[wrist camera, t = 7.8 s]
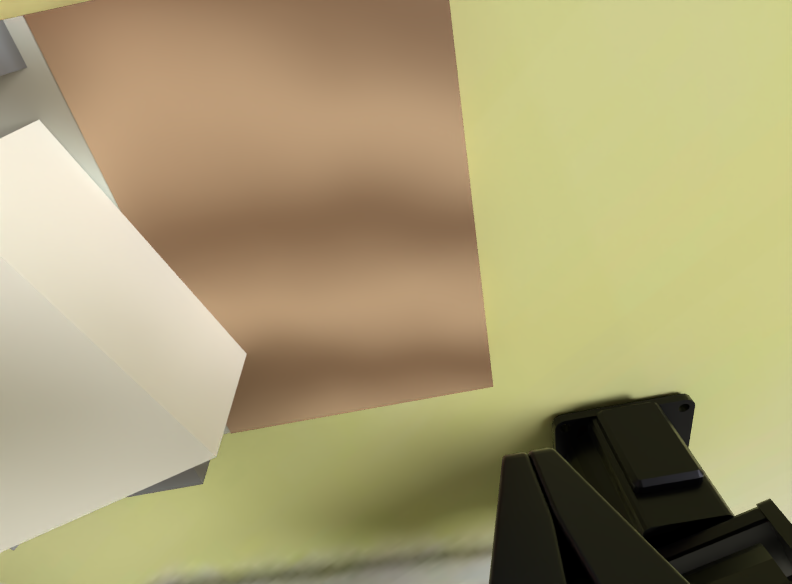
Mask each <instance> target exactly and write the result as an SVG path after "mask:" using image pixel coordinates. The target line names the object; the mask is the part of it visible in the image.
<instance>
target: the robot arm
mask: <svg viewBox="0 0 792 584" xmlns="http://www.w3.org/2000/svg"><path fill="white" fill-rule="evenodd" d="M694 409H695V403H694V402H693V400H692V399H691V398H690V396H689V395H687V394H678V395H672V396H666V397H661V398H655V399H649V400H643V401H638V402H632V403H626V404H621V405H615V406H609V407H603V408H598V409H592V410H586V411H581V412H575V413H569V414H563V415H560V416H558V417H556V418H555V419H554V420H553V423H552V429H553V448H543V449H537V450H532V451H530V452H529V453H528V454H527V453H525V452H519V453H514V454H508V455H505V456H504V457H503V459H502V467H501V476H500V485H499V495H498V504H497V513H496V523H495V532H494V541H493V551H492V560H491V569H490V579H489V584H792V524H791V523H790V522H789V520H788V519H787V518H786V517H785V516H784V514H783V513H782V512H781V511H780V510H779V508H778V507H777V506H776V505H775V504H774V503H773V501H772V500H771V499H768V500H765V501H763V502H761V503H758V504H756V505H757V507H756V508H753V509H751V510H748V511H746V512H744V513H741V514H739V515H736V516H734V514H733V513H732V512H731V510H730V509H729V507H728V506H727V504H726V503H725V501H724V500H723V498H722V497H721V495H720V494H719V492H718V491H717V489H716V488H715V487H714V485H713V484H712V482H711V481H710V479H709V478H708V476H707V475H706V473H705V472H704V470H703V469H702V467H701V466H700V465H699V463H698V462H697V460H696V459H695V457H694V456H693V454H692V453H691V451H690V450H689V448H688V446H689V440H690V434H691V428H692V421H693V415H694ZM563 425H564V426H563Z"/></svg>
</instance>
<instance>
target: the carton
mask: <svg viewBox="0 0 792 584" xmlns="http://www.w3.org/2000/svg"><path fill="white" fill-rule="evenodd" d="M246 355H247V354H246V353H245V351H244V350H243V349H242V348H241V347H240V346H239V345H238V343H237V342H236V341H235V340H234V339H233V338H232V337H231V336H230V334H229V333H228V332H227V331H226V330H225V329H224V328H223V327H222V325H221V324H220V323H219V322H218V321H217V320H216V319H215V318H214V316H213V315H212V314H211V313H210V312H209V311H208V310H207V308H206V307H205V306H204V305H203V304H202V303H201V302H200V301H199V299H198V298H197V297H196V296H195V295H194V294H193V293H192V292H191V290H190V289H189V288H188V287H187V286H186V285H185V284H184V283H183V281H182V280H181V279H180V278H179V277H178V276H177V275H176V273H175V272H174V271H173V270H172V269H171V268H170V267H169V266H168V264H167V263H166V262H165V261H164V260H163V259H162V258H161V257H160V255H159V254H158V253H157V252H156V251H155V250H154V249H153V248H152V246H151V245H150V244H149V243H148V242H147V241H146V240H145V238H144V237H143V236H142V235H141V234H140V233H139V232H138V231H137V229H136V228H135V227H134V226H133V225H132V224H131V223H130V222H129V220H128V219H127V218H126V217H125V216H124V215H123V214H122V213H121V211H120V210H119V209H118V208H117V207H116V206H115V205H114V203H113V202H112V201H111V200H110V199H109V198H108V197H107V196H106V194H105V193H104V192H103V191H102V190H101V189H100V188H99V187H98V185H97V184H96V183H95V182H94V181H93V180H92V179H91V178H90V176H89V175H88V174H87V173H86V172H85V171H84V170H83V169H82V167H81V166H80V165H79V164H78V163H77V162H76V161H75V159H74V158H73V157H72V156H71V155H70V154H69V153H68V152H67V150H66V149H65V148H64V147H63V146H62V145H61V144H60V143H59V141H58V140H57V139H56V138H55V137H54V136H53V135H52V134H51V132H50V131H49V130H48V129H47V128H46V127H45V126H44V124H43V123H42V122H41V121H40V120H37V121H35V122H33V123H31V124H29V125H27V126H25V127H23V128H21V129H19V130H17V131H15V132H13V133H10V134H8V135H6V136H4V137H2V138H0V553H1V552H3V551H5V550H7V549H10V548H12V547H14V546H16V545H19V544H21V543H23V542H25V541H28V540H30V539H32V538H34V537H37V536H39V535H41V534H43V533H46V532H48V531H50V530H53V529H55V528H57V527H59V526H62V525H64V524H66V523H68V522H71V521H73V520H75V519H77V518H80V517H82V516H84V515H86V514H89V513H91V512H93V511H95V510H98V509H100V508H102V507H105V506H107V505H109V504H111V503H114V502H116V501H118V500H120V499H123V498H125V497H127V496H129V495H132V494H134V493H136V492H138V491H141V490H143V489H145V488H147V487H150V486H152V485H154V484H157V483H159V482H161V481H163V480H166V479H168V478H170V477H172V476H175V475H177V474H179V473H181V472H184V471H186V470H188V469H190V468H193V467H195V466H197V465H199V464H202V463H204V462H206V461H209V460H211V459H213V458H215V457H217V453H218V450H219V446H220V443H221V440H222V436H223V433H224V429H225V426H226V423H227V419H228V416H229V412H230V409H231V406H232V402H233V399H234V395H235V392H236V389H237V385H238V382H239V378H240V375H241V372H242V368H243V365H244V361H245V358H246Z"/></svg>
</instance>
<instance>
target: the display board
mask: <svg viewBox="0 0 792 584" xmlns="http://www.w3.org/2000/svg"><path fill="white" fill-rule="evenodd" d="M37 120H40V121H41V122H42V123H43V124H44V126H45V127H46V128H47V129H48V130H49V131H50V132H51V134H52V135H53V136H54V137H55V138H56V139H57V140H58V141H59V143H60V144H61V145H62V146H63V147H64V148H65V149H66V150H67V152H68V153H69V154H70V155H71V156H72V157H73V158H74V159H75V161H76V162H77V163H78V164H79V165H80V166H81V167H82V169H83V170H84V171H85V172H86V173H87V174H88V175H89V176H90V178H91V179H92V180H93V181H94V182H95V183H96V184H97V185H98V187H99V188H100V189H101V190H102V191H103V192H104V193H105V194H106V196H107V197H108V198H109V199H110V200H111V201H112V202H113V203H114V205H115V206H116V207H117V208H118V209H119V210H120V211H121V213H122V214H123V215H124V216H125V217H126V218H127V219H128V220H129V222H130V223H131V224H132V225H133V226H134V227H135V228H136V229H137V231H138V232H139V233H140V234H141V235H142V236H143V237H144V238H145V240H146V241H147V242H148V243H149V244H150V245H151V246H152V248H153V249H154V250H155V251H156V252H157V253H158V254H159V255H160V257H161V258H162V259H163V260H164V261H165V262H166V263H167V264H168V266H169V267H170V268H171V269H172V270H173V271H174V272H175V273H176V275H177V276H178V277H179V278H180V279H181V280H182V281H183V283H184V284H185V285H186V286H187V287H188V288H189V289H190V290H191V292H192V293H193V294H194V295H195V296H196V297H197V298H198V299H199V301H200V302H201V303H202V304H203V305H204V306H205V307H206V308H207V310H208V311H209V312H210V313H211V314H212V315H213V316H214V318H215V319H216V320H217V321H218V322H219V323H220V324H221V325H222V327H223V328H224V329H225V330H226V331H227V332H228V333H229V334H230V336H231V337H232V338H233V339H234V340H235V341H236V342H237V343H238V345H239V346H240V347H241V348H242V349H243V350H244V351H245V353H246V354H247V355H246V358H245V361H244V365H243V368H242V372H241V375H240V378H239V382H238V385H237V389H236V392H235V395H234V399H233V402H232V406H231V409H230V412H229V416H228V419H227V423H226V426H225V429H224V433H223V434H226V433H236V432H242V431H247V430H253V429H258V428H264V427H270V426H275V425H281V424H286V423H292V422H298V421H303V420H309V419H314V418H320V417H326V416H331V415H337V414H342V413H348V412H354V411H359V410H365V409H370V408H376V407H382V406H387V405H393V404H398V403H404V402H410V401H415V400H421V399H426V398H432V397H438V396H443V395H449V394H454V393H460V392H466V391H471V390H477V389H482V388H488V387H493V380H492V372H491V363H490V354H489V345H488V337H487V328H486V319H485V310H484V301H483V293H482V284H481V275H480V266H479V258H478V249H477V240H476V231H475V223H474V214H473V205H472V196H471V188H470V179H469V170H468V161H467V153H466V144H465V135H464V126H463V118H462V109H461V100H460V91H459V82H458V74H457V65H456V56H455V47H454V39H453V30H452V21H451V12H450V4H449V0H91V1H87V2H82V3H78V4H73V5H69V6H64V7H59V8H55V9H50V10H46V11H41V12H37V13H32V14H27V15H23V16H19V17H14V18H9V19H5V20H0V138H2V137H4V136H6V135H8V134H10V133H13V132H15V131H17V130H19V129H21V128H23V127H25V126H27V125H29V124H31V123H33V122H35V121H37ZM209 462H210V460H209V461H206V462H204V463H202V464H199V465H197V466H195V467H193V468H190V469H188V470H186V471H184V472H181V473H179V474H177V475H175V476H172V477H170V478H168V479H166V480H163V481H161V482H159V483H157V484H154V485H152V486H150V487H147V488H145V489H143V490H141V491H138V492H136V493H134V494H132V495H129V496H127V497H131V496H137V495H142V494H148V493H154V492H160V491H165V490H171V489H177V488H182V487H188V486H194V485H200V484H203V482H204V479H205V475H206V472H207V469H208V465H209Z"/></svg>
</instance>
